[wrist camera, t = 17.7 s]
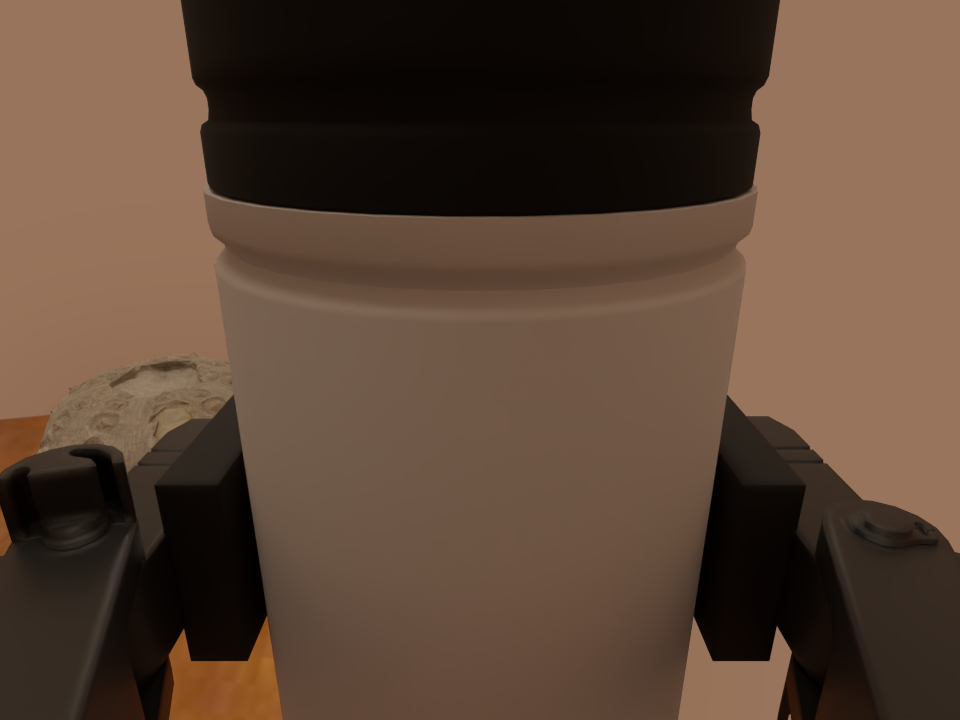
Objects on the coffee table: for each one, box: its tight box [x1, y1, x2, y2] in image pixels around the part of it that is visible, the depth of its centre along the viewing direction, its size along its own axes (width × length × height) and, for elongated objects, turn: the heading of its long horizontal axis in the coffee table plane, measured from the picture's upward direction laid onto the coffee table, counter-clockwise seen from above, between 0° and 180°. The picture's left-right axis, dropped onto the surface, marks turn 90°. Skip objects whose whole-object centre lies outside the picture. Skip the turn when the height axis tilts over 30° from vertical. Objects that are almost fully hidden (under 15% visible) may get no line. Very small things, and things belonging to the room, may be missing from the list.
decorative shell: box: [37, 353, 234, 473], centre depth 52 cm, size 18×18×10 cm
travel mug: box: [181, 0, 780, 720], centre depth 10 cm, size 6×7×20 cm
